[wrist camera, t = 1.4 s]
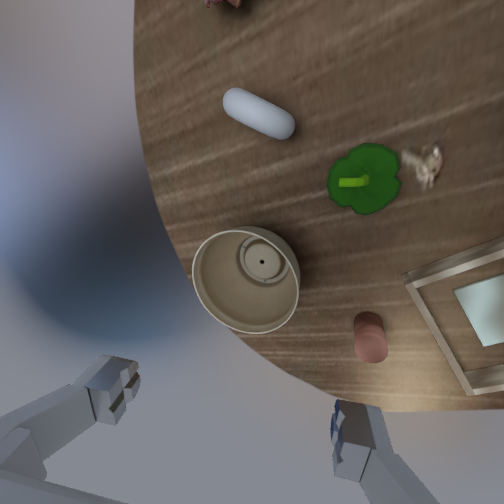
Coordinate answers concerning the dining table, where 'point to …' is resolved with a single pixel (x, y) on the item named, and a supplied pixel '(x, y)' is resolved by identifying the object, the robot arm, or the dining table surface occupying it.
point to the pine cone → (234, 0)
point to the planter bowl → (247, 279)
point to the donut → (258, 113)
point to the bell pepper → (365, 178)
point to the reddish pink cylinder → (369, 337)
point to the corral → (468, 309)
